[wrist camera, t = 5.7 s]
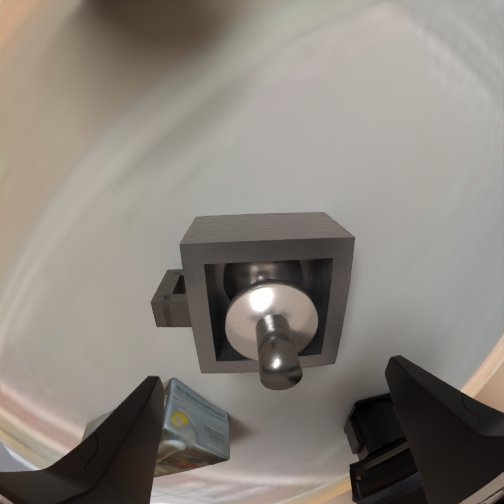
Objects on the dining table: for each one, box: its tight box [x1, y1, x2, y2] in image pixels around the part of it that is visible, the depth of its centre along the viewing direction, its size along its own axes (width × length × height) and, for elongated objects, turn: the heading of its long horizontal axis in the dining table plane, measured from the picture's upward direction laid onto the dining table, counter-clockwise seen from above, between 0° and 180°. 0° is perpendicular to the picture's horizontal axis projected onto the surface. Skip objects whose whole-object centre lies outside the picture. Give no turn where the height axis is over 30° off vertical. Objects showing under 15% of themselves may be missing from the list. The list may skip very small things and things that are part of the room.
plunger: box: [223, 260, 318, 390], centre depth 14 cm, size 5×5×9 cm
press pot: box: [151, 212, 355, 373], centre depth 16 cm, size 10×8×5 cm
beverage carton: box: [81, 378, 230, 477], centre depth 22 cm, size 8×19×7 cm, turn 129°
